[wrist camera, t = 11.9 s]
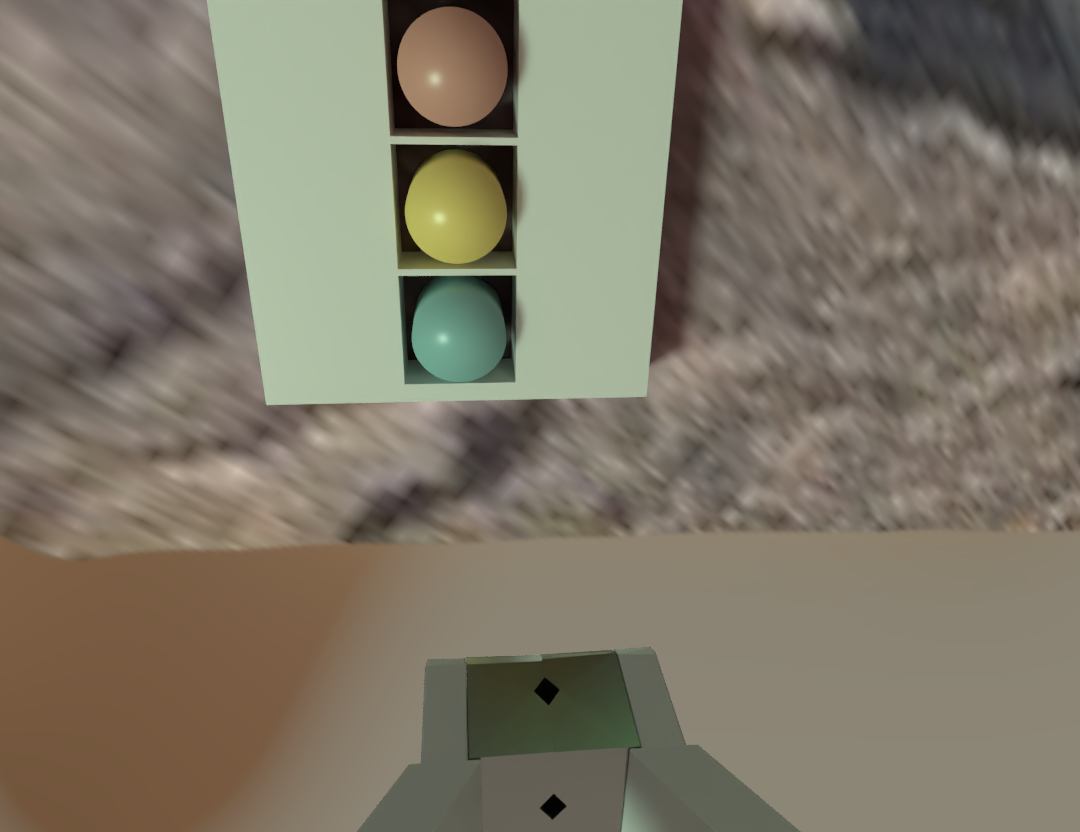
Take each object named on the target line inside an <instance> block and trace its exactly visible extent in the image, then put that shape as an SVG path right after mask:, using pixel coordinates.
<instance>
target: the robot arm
mask: <svg viewBox="0 0 1080 832" xmlns="http://www.w3.org/2000/svg"><path fill="white" fill-rule="evenodd" d="M466 661H467V662H466ZM466 661H465V658H463V659H428V660H427V663H426V667H425V679H424V681H425V682H424V703H423V725H422V726H423V727H422V750H421V751H422V752H421V764H410V765H408V767H407V768H406V769H405V770H404V772H403V773H402V774H401V776H400V777H399V778H398V780H397V781H396V782H395V783H394V785H393V786H392V787H391V788H390V790H389V791H388V793H387V794H386V795H385V796H384V797H383V799H382V800H381V801H380V803H379V804H378V805H377V807H376V808H375V809H374V810H373V812H372V813H371V814H370V816H369V817H368V818H367V819H366V821H365V822H364V823H363V825H362V826H361V827H360V828H359V830H358V831H357V832H800V831H799V830H798V829H797V828H795V827H794V826H793V825H792V824H791V823H790V822H789V821H787V820H786V819H785V818H784V817H783V816H781V815H780V814H779V813H778V812H777V811H775V810H774V809H773V808H772V807H771V806H769V805H768V804H767V803H766V802H765V801H764V800H763V799H761V798H760V797H759V796H758V795H756V794H755V793H754V792H753V791H752V790H751V789H749V788H748V787H747V786H746V785H744V783H742V782H741V781H740V780H739V779H738V778H736V777H735V776H734V775H733V774H732V773H731V772H729V771H728V770H727V769H726V768H725V767H723V766H722V765H721V764H720V763H719V762H718V761H716V760H715V759H714V758H713V757H712V756H710V755H709V754H708V753H707V752H706V751H705V750H703V749H702V748H701V747H700V746H698V745H686V743H685V740H684V737H683V734H682V731H681V728H680V725H679V722H678V719H677V716H676V713H675V710H674V707H673V704H672V701H671V698H670V695H669V692H668V689H667V686H666V683H665V680H664V677H663V674H662V671H661V668H660V665H659V662H658V659H657V656H656V653H655V651H654V650H653V649H652V648H651V647H642V648H628V649H615V650H614V651H612V650H603V651H588V652H572V653H558V654H542V655H525V656H494V657H467V658H466ZM466 664H467V665H466ZM466 670H467V688H466Z"/></svg>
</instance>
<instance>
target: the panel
mask: <svg viewBox="0 0 1080 832" xmlns="http://www.w3.org/2000/svg"><path fill="white" fill-rule="evenodd" d="M682 4H683V0H514V56H513V129H442V128H395V121H394V103H393V86H392V68H391V50H390V33H389V15H388V0H207V5H208V12H209V19H210V26H211V32H212V39H213V46H214V53H215V60H216V66H217V73H218V80H219V87H220V94H221V100H222V107H223V114H224V121H225V127H226V134H227V141H228V148H229V155H230V161H231V168H232V175H233V182H234V189H235V195H236V202H237V209H238V216H239V223H240V229H241V236H242V243H243V250H244V256H245V263H246V270H247V277H248V284H249V290H250V297H251V304H252V311H253V318H254V324H255V331H256V338H257V345H258V352H259V358H260V365H261V372H262V379H263V385H264V392H265V399H266V405H285V404H331V403H377V402H423V401H469V400H515V399H561V398H608V397H646V396H647V385H648V374H649V363H650V352H651V341H652V330H653V320H654V309H655V298H656V287H657V276H658V265H659V254H660V243H661V232H662V221H663V211H664V200H665V189H666V178H667V167H668V156H669V145H670V134H671V123H672V112H673V102H674V91H675V80H676V69H677V58H678V47H679V36H680V25H681V14H682ZM396 144H427V145H513V201H512V251H490V252H489V253H488V254H486V255H485V256H483V257H482V258H480V259H478V260H475V261H472V262H469V263H463V264H451V263H446V262H442V261H439V260H437V259H435V258H432V257H431V256H429V255H428V254H426V253H425V252H402V245H401V227H400V210H399V192H398V174H397V157H396ZM484 275H512V345H511V358H508V359H501V360H500V361H499V363H498V364H497V365H496V366H495V368H494V369H493V370H491V371H490V372H489V373H488V374H486V375H484V376H483V377H481V378H478V379H476V380H473V381H468V382H451V381H447V380H443V379H441V378H438V377H436V376H434V375H433V374H431V373H430V372H429V371H427V370H426V369H425V368H424V367H423V366H422V365H421V363H420V362H419V360H408V351H407V334H406V316H405V298H404V281H403V276H484Z"/></svg>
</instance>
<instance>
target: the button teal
mask: <svg viewBox="0 0 1080 832" xmlns="http://www.w3.org/2000/svg"><path fill="white" fill-rule="evenodd" d="M506 339H507V337H506V329H505V323H504V317H503V311H502V306H501V302H500V299H499V296H498V294H497V292H496V291H495V289H494V288H493V287H492V286H491V285H490V284H489V283H488V282H487V281H486V280H485V279H483V278H481V277H480V276H437V277H435V278H433V279H432V280H431V281H429V282H428V283H427V284H426V285H425V286H424V288H423V289H422V291H421V292H420V294H419V296H418V298H417V302H416V307H415V314H414V321H413V328H412V346H413V350H414V353H415V355H416V357H417V359H418V360H419V362H420V363H421V365H422V366H423V367H424V368H425V369H426V370H427V371H429V372H430V373H431V374H433V375H434V376H436V377H438V378H441V379H443V380H447V381H451V382H468V381H473V380H476V379H478V378H481V377H483V376H484V375H486V374H488V373H489V372H490V371H491V370H493V369H494V368H495V366H496V365H497V364H498V363H499V361H500V360H501V358H502V356H503V354H504V351H505V347H506Z"/></svg>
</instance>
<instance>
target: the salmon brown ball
mask: <svg viewBox="0 0 1080 832" xmlns="http://www.w3.org/2000/svg"><path fill="white" fill-rule="evenodd" d="M397 71H398V77H399V82H400V85H401V88H402V90H403V92H404V94H405V96H406V98H407V99H408V101H409V102H410V104H411V105H412V106H413V107H414V109H415V110H416V111H418V112H419V113H420V114H421V115H422V116H424V117H425V118H427V119H428V120H430V121H432V122H434V123H437V124H440V125H444V126H450V127H460V126H466V125H470V124H473V123H475V122H477V121H479V120H481V119H482V118H484V117H485V116H487V115H488V114H489V113H490V112H491V111H492V110H493V109H494V107H495V106H496V105H497V103H498V102H499V100H500V98H501V96H502V94H503V92H504V89H505V86H506V81H507V71H508V68H507V58H506V53H505V50H504V47H503V44H502V42H501V40H500V38H499V36H498V35H497V33H496V31H495V30H494V29H493V28H492V26H491V25H490V24H489V23H488V22H487V21H486V20H484V19H483V18H482V17H481V16H479V15H477V14H476V13H474V12H472V11H469V10H467V9H463V8H459V7H441V8H436V9H433V10H430V11H428V12H426V13H425V14H423V15H421V16H420V17H419V18H417V19H416V20H415V21H414V22H413V23H412V24H411V25H410V27H409V28H408V29H407V31H406V33H405V34H404V36H403V38H402V41H401V43H400V47H399V51H398V57H397Z"/></svg>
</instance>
